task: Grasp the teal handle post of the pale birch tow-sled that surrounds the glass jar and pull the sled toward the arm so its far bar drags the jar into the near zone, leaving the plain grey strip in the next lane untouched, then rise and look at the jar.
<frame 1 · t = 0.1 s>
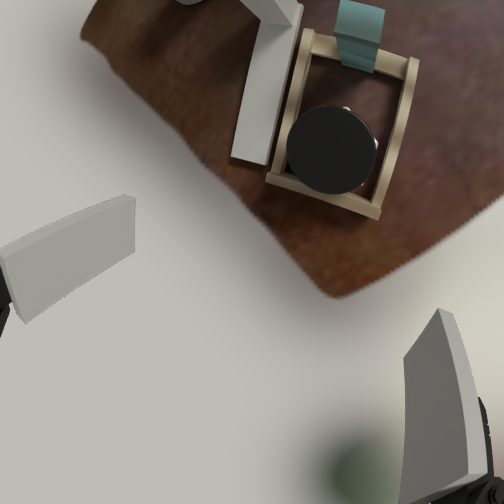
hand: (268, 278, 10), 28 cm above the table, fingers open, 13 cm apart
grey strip: (253, 68, 26), point 6 cm above the table, slide at 0.0 cm
sled: (344, 111, 25), point 6 cm above the table, slide at 0.0 cm
jar: (338, 146, 32), resting in sled
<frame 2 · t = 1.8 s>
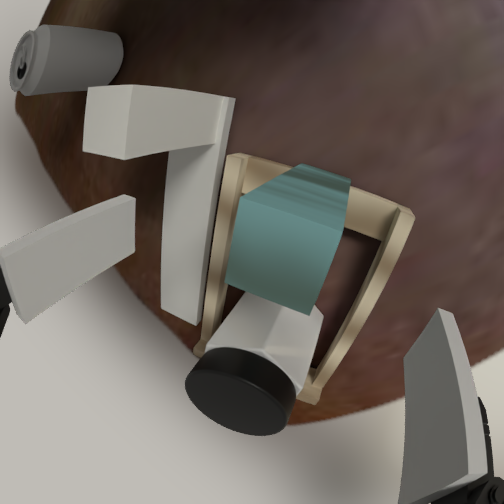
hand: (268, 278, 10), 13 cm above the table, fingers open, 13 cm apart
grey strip: (154, 241, 22), point 6 cm above the table, slide at 0.0 cm
sled: (271, 324, 20), point 6 cm above the table, slide at 0.0 cm
jar: (281, 314, 28), resting in sled
can: (108, 61, 23), on the table
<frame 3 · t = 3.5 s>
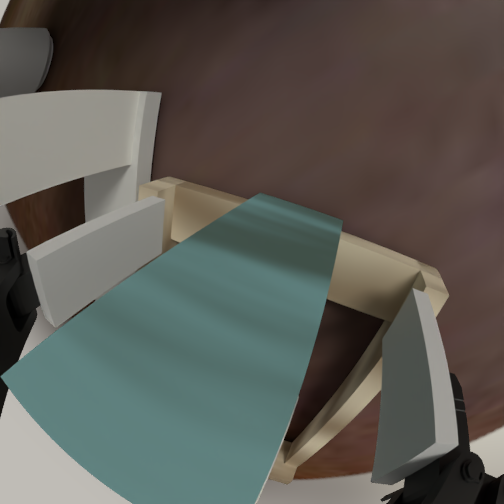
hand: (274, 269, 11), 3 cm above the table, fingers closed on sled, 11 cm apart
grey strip: (64, 304, 14), point 6 cm above the table, slide at 0.0 cm
sled: (212, 431, 12), point 6 cm above the table, slide at 0.0 cm, touching gripper
can: (41, 62, 15), on the table
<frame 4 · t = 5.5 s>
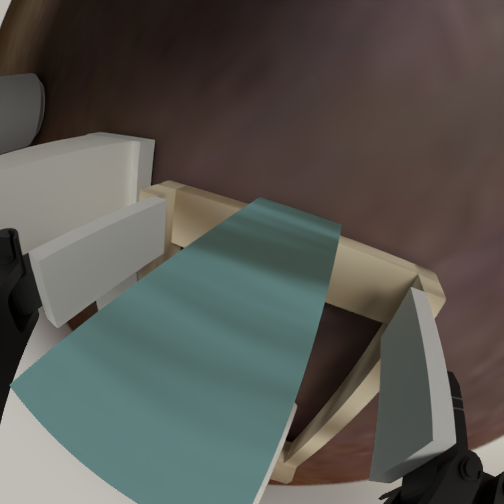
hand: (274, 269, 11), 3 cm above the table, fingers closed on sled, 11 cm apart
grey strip: (74, 334, 15), point 6 cm above the table, slide at 2.1 cm
sled: (213, 432, 12), point 6 cm above the table, slide at 4.6 cm, touching gripper
jar: (245, 394, 20), resting in sled
can: (34, 108, 17), on the table
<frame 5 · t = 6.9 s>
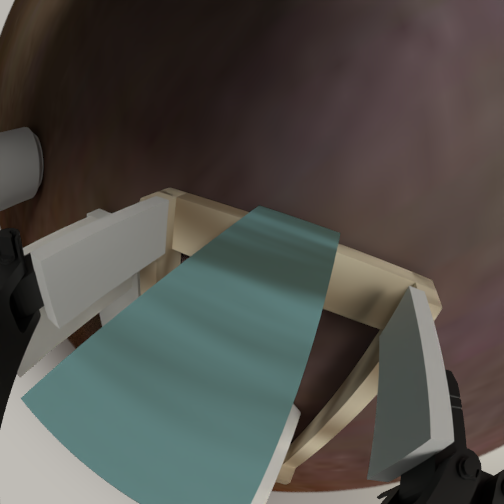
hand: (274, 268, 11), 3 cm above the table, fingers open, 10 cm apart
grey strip: (91, 378, 18), point 6 cm above the table, slide at 2.1 cm
sled: (213, 434, 13), point 6 cm above the table, slide at 9.6 cm, touching gripper
jar: (249, 398, 21), resting in sled
can: (33, 160, 20), on the table
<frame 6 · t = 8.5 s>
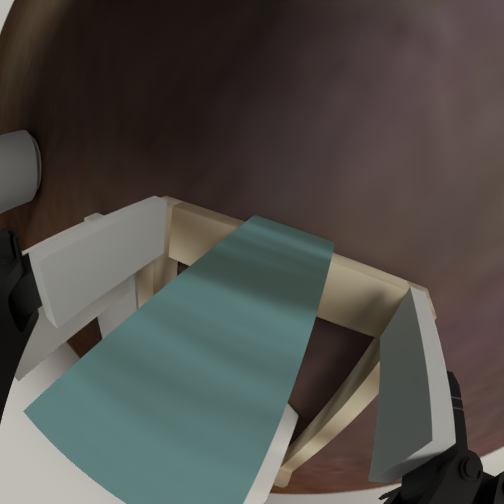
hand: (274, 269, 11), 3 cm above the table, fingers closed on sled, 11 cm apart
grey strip: (90, 381, 18), point 6 cm above the table, slide at 2.1 cm
sled: (210, 439, 13), point 6 cm above the table, slide at 9.4 cm, touching gripper
jar: (247, 401, 21), resting in sled
can: (32, 163, 20), on the table
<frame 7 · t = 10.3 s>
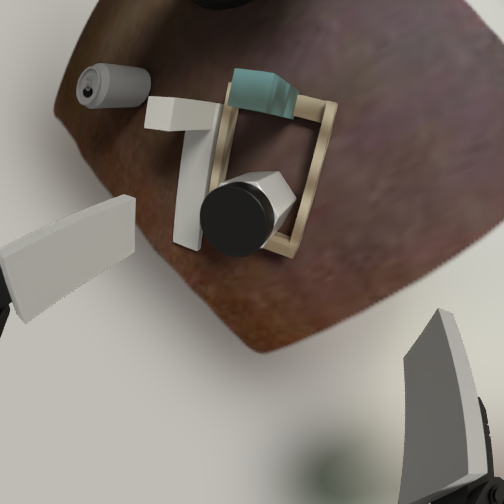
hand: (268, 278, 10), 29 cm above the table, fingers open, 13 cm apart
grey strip: (175, 183, 37), point 6 cm above the table, slide at 2.1 cm
sled: (253, 167, 32), point 6 cm above the table, slide at 9.8 cm
jar: (266, 197, 40), resting in sled
can: (139, 87, 39), on the table
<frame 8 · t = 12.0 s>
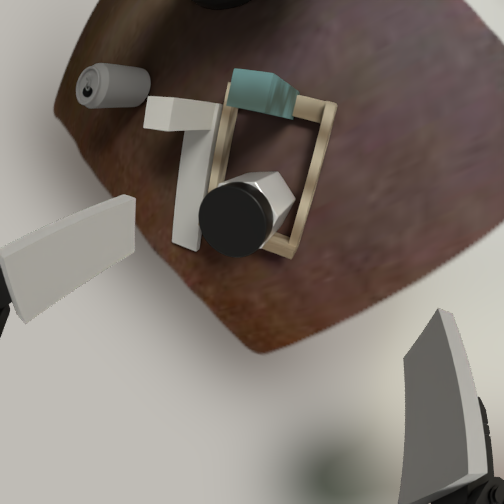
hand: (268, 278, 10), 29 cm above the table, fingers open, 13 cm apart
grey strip: (174, 183, 37), point 6 cm above the table, slide at 2.1 cm
sled: (252, 167, 32), point 6 cm above the table, slide at 9.8 cm
jar: (265, 198, 40), resting in sled
can: (139, 87, 39), on the table
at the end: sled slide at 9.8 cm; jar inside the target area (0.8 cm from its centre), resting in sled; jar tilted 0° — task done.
